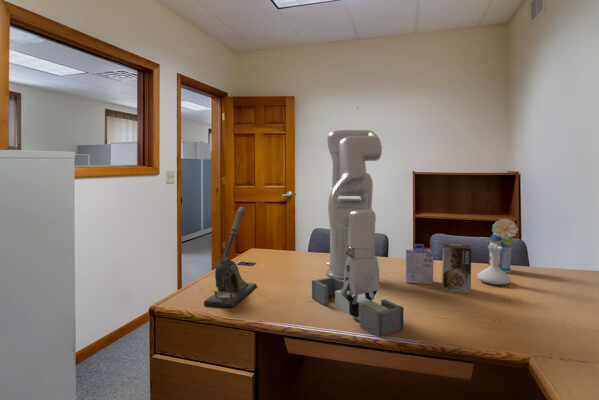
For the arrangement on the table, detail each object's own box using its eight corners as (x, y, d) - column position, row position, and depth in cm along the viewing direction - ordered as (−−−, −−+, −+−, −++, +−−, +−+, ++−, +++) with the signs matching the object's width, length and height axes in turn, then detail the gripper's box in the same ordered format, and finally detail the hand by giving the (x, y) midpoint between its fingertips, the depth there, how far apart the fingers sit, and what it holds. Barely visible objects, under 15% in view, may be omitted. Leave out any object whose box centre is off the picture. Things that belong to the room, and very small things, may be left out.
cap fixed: (360, 326, 95) (360, 305, 95) (384, 319, 99) (384, 299, 99) (378, 337, 89) (379, 314, 88) (403, 329, 93) (403, 307, 93)
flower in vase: (472, 282, 133) (475, 218, 131) (481, 276, 141) (484, 215, 139) (512, 290, 124) (515, 221, 122) (519, 283, 132) (522, 218, 130)
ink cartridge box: (431, 280, 136) (432, 244, 135) (433, 284, 131) (434, 246, 129) (405, 279, 138) (405, 243, 137) (406, 283, 133) (407, 245, 131)
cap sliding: (312, 298, 116) (312, 280, 116) (333, 293, 121) (333, 276, 120) (324, 305, 110) (324, 286, 110) (346, 299, 115) (346, 282, 114)
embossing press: (200, 306, 110) (198, 212, 108) (233, 283, 133) (232, 205, 131) (232, 309, 108) (230, 213, 105) (260, 285, 130) (259, 206, 128)
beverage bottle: (511, 274, 144) (513, 226, 142) (487, 271, 148) (489, 225, 146) (510, 269, 151) (512, 224, 149) (488, 267, 155) (490, 222, 154)
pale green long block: (334, 308, 109) (335, 290, 109) (345, 305, 111) (345, 288, 111) (379, 332, 92) (380, 312, 92) (390, 329, 94) (391, 309, 94)
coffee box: (468, 288, 127) (469, 244, 125) (470, 294, 121) (472, 248, 119) (441, 285, 130) (442, 243, 128) (442, 291, 123) (443, 246, 122)
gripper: (346, 259, 93) (345, 325, 94) (392, 251, 101) (391, 312, 103) (329, 253, 99) (329, 315, 101) (374, 247, 108) (373, 304, 109)
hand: (360, 313), depth 102 cm, fingers open, 4 cm apart
